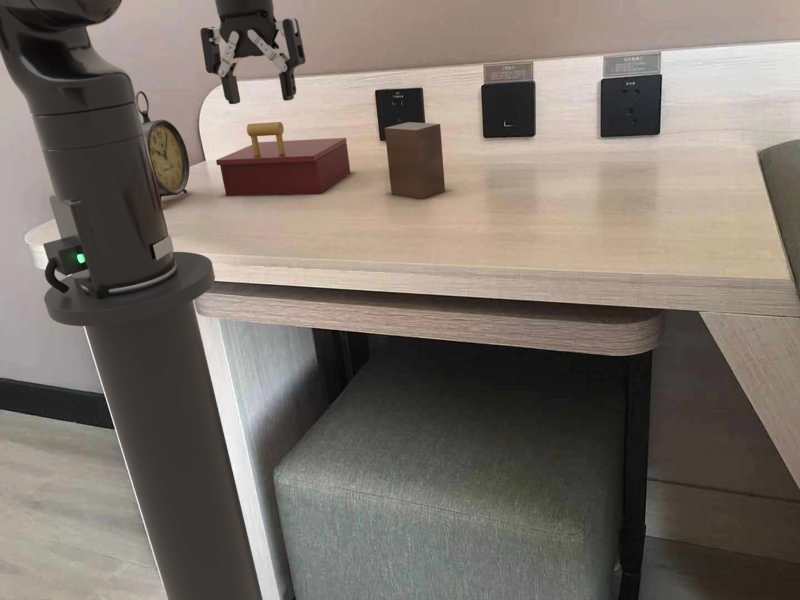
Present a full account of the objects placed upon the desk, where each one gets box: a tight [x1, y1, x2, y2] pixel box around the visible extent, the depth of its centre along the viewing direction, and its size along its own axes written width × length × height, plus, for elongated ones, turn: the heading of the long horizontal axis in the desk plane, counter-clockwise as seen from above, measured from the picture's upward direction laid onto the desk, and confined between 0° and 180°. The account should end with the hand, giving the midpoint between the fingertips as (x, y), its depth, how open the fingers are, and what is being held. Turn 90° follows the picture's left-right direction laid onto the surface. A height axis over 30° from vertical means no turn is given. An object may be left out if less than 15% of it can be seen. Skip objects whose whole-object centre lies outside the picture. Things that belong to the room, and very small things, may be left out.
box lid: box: [215, 121, 347, 166], centre depth 103 cm, size 13×16×5 cm
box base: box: [219, 143, 351, 197], centre depth 105 cm, size 13×16×5 cm
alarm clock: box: [135, 90, 190, 202], centre depth 100 cm, size 11×5×16 cm, turn 170°
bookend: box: [384, 121, 446, 200], centre depth 92 cm, size 4×6×9 cm
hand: (261, 101), depth 97 cm, fingers open, 8 cm apart
